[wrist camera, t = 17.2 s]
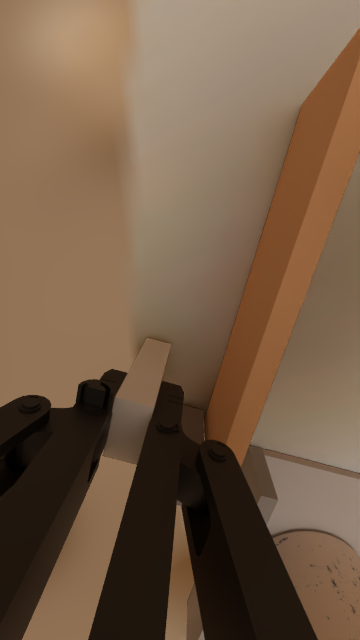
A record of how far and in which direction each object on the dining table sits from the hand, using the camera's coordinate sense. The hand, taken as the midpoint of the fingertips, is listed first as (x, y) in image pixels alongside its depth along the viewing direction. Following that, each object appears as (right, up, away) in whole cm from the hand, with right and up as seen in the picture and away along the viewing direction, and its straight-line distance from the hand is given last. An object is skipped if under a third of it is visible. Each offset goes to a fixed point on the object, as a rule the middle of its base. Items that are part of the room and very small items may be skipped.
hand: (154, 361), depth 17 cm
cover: (+6, +4, 0) cm, 7 cm away
